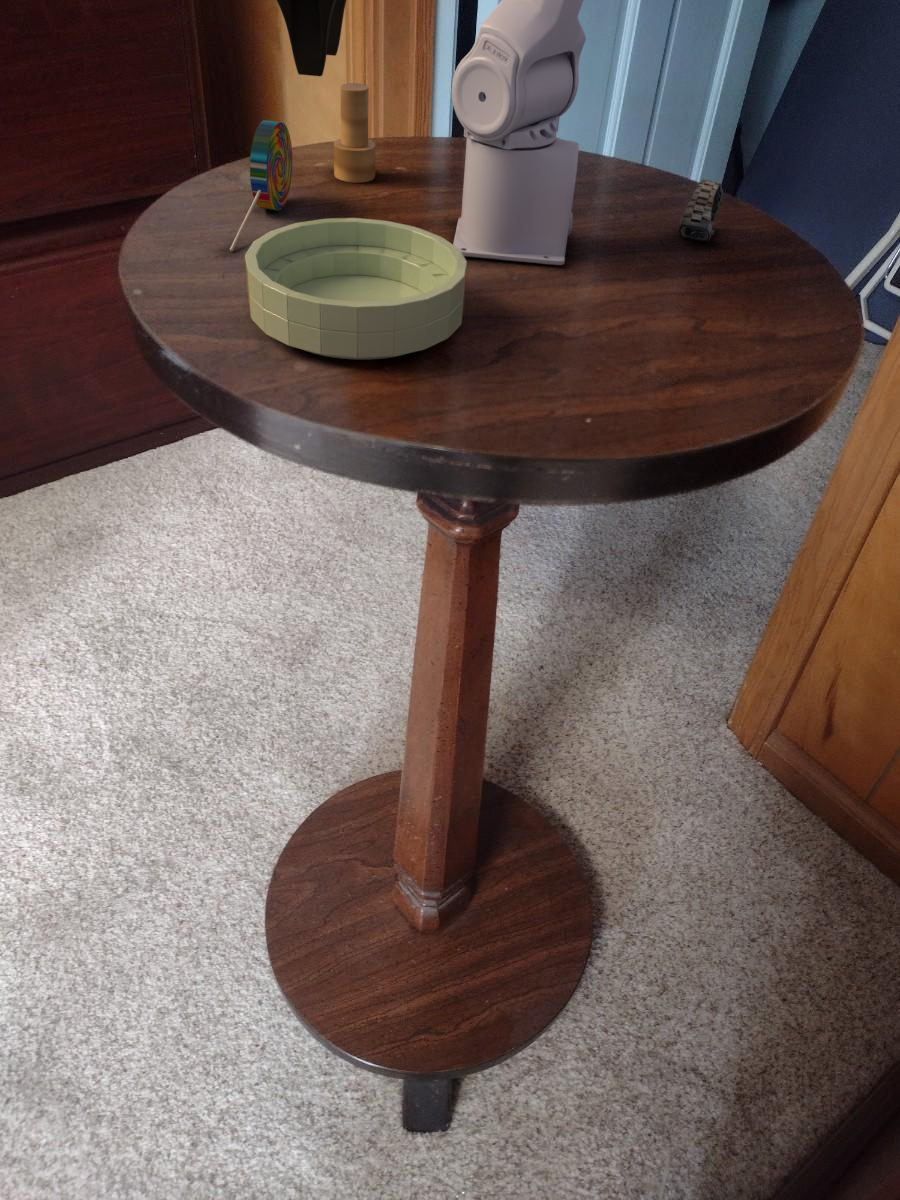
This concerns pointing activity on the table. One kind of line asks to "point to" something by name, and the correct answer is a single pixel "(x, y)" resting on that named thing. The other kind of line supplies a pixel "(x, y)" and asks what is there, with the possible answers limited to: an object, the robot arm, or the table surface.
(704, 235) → the wristwatch
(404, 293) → the bowl
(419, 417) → the table surface
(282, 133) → the lollipop
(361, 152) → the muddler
